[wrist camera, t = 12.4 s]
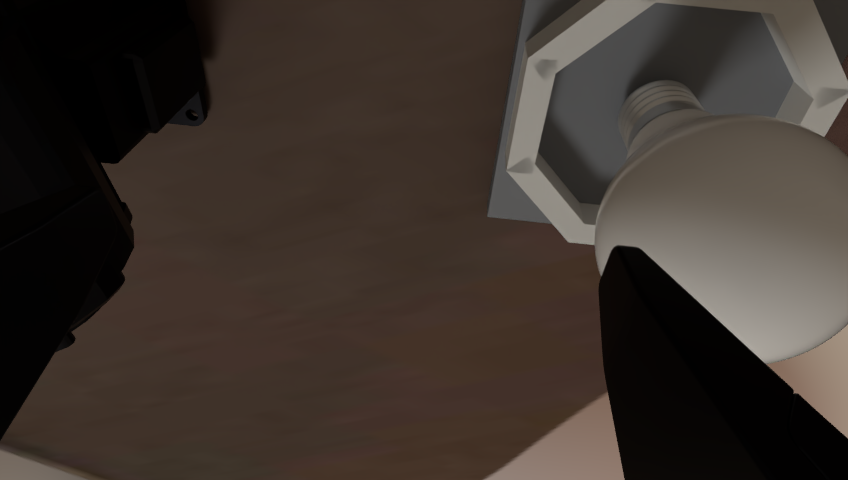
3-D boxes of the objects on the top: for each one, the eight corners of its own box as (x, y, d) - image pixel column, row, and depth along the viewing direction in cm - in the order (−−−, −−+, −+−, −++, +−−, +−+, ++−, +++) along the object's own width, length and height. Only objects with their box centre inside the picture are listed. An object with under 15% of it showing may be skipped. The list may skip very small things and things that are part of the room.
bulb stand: (487, 203, 25) (487, 238, 23) (535, -71, 18) (541, -56, 16) (731, 229, 24) (752, 267, 22) (878, -39, 17) (926, -19, 15)
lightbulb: (681, -24, 17) (870, 145, 9) (781, 106, 20) (1007, 340, 11) (529, 108, 21) (558, 326, 12) (629, 206, 23) (714, 447, 14)
